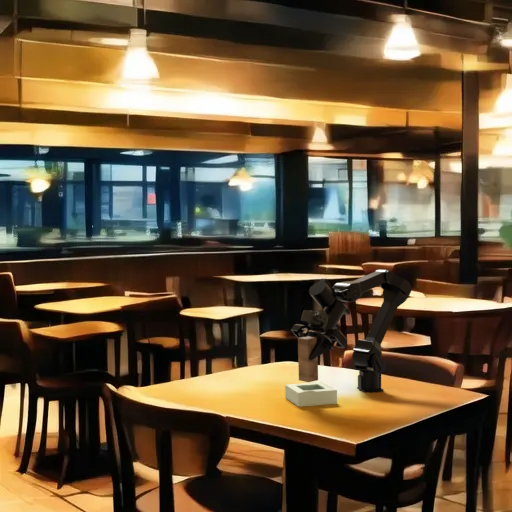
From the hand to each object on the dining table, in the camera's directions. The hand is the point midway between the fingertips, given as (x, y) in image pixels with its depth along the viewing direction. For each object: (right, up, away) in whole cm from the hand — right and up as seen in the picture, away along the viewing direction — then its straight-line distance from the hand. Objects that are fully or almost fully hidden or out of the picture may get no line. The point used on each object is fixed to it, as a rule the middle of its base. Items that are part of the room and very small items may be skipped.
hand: (304, 358), depth 216 cm
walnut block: (+1, -7, +1) cm, 7 cm away
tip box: (+2, -13, +5) cm, 14 cm away
